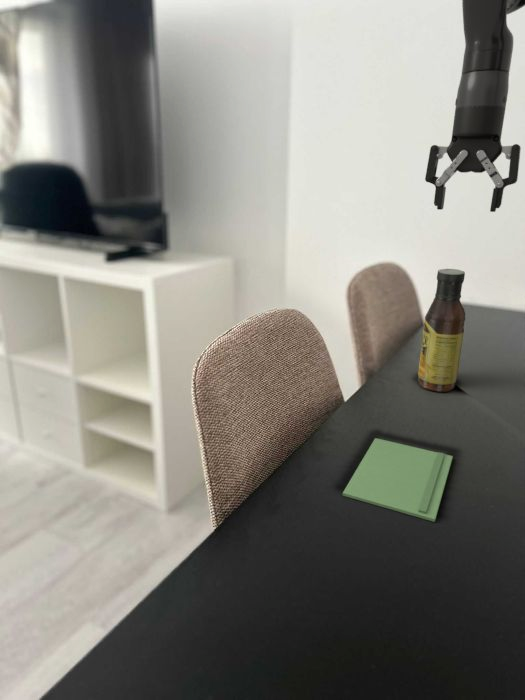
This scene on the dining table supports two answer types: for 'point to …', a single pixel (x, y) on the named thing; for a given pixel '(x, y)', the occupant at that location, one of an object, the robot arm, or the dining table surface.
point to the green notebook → (401, 479)
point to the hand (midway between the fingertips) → (465, 210)
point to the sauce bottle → (443, 334)
